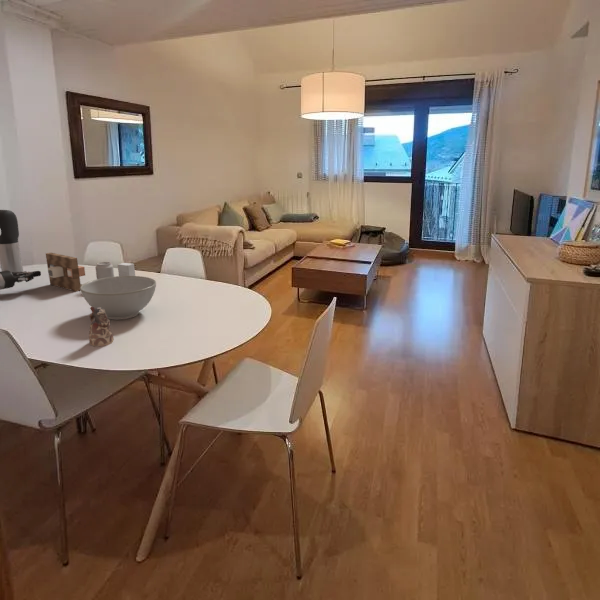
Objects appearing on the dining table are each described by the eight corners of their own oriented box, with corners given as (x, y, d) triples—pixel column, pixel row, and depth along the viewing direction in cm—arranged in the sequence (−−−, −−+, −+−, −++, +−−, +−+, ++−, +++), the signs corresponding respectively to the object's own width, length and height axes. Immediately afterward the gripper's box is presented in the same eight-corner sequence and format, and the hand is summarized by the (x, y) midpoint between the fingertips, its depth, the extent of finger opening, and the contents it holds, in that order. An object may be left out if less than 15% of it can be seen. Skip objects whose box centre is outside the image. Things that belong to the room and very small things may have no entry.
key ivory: (48, 276, 205) (46, 268, 204) (61, 274, 210) (60, 265, 209) (53, 278, 203) (51, 269, 202) (66, 275, 208) (65, 266, 207)
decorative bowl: (170, 306, 184) (168, 278, 181) (134, 329, 159) (131, 296, 156) (112, 302, 190) (108, 274, 186) (67, 322, 165) (63, 290, 161)
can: (118, 286, 213) (115, 261, 210) (110, 290, 206) (107, 264, 203) (103, 285, 214) (100, 260, 211) (94, 290, 207) (91, 264, 204)
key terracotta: (67, 276, 205) (65, 268, 204) (80, 274, 211) (79, 265, 209) (72, 278, 203) (71, 269, 202) (85, 275, 208) (84, 266, 207)
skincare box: (136, 288, 210) (134, 263, 206) (130, 291, 206) (128, 265, 202) (126, 287, 212) (123, 262, 208) (119, 289, 208) (117, 264, 204)
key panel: (50, 284, 215) (45, 253, 211) (63, 281, 220) (59, 251, 216) (76, 291, 204) (71, 258, 200) (89, 288, 210) (85, 256, 205)
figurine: (100, 347, 143) (96, 311, 140) (84, 344, 146) (80, 308, 142) (118, 340, 149) (114, 305, 146) (102, 336, 152) (98, 302, 149)
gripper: (-7, 286, 197) (33, 278, 211) (8, 291, 190) (49, 283, 204) (-11, 270, 195) (31, 263, 209) (5, 274, 188) (46, 267, 202)
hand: (40, 273), depth 206 cm, fingers closed
